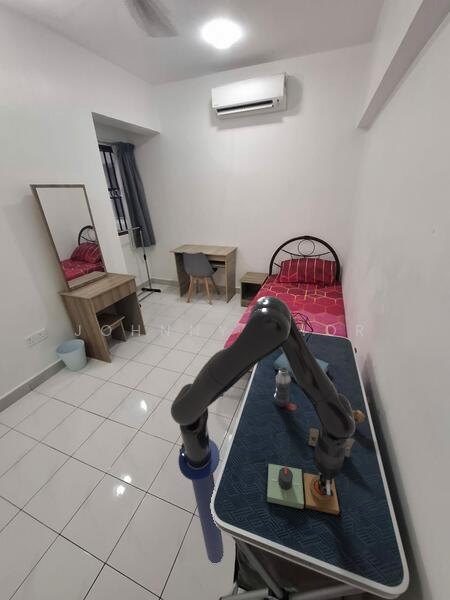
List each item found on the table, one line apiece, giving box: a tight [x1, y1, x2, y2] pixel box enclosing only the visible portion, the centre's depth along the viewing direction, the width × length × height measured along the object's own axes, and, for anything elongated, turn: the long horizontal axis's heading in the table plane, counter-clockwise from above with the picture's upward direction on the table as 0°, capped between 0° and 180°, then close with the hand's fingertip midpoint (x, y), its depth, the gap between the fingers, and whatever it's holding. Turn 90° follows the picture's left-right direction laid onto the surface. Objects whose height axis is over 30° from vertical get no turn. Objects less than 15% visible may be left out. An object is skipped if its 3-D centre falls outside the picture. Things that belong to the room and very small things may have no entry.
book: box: [273, 352, 330, 379], centre depth 126 cm, size 23×16×5 cm
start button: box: [315, 481, 324, 496], centre depth 76 cm, size 4×4×2 cm
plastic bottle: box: [273, 367, 292, 408], centre depth 105 cm, size 6×7×20 cm
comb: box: [307, 427, 356, 458], centre depth 87 cm, size 15×2×10 cm, turn 70°
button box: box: [302, 472, 340, 516], centre depth 76 cm, size 10×9×4 cm
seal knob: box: [278, 466, 293, 490], centre depth 77 cm, size 4×4×5 cm
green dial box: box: [266, 463, 305, 510], centre depth 79 cm, size 11×10×3 cm
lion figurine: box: [352, 409, 366, 425], centre depth 99 cm, size 15×5×9 cm, turn 36°
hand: (321, 487), depth 75 cm, fingers closed
